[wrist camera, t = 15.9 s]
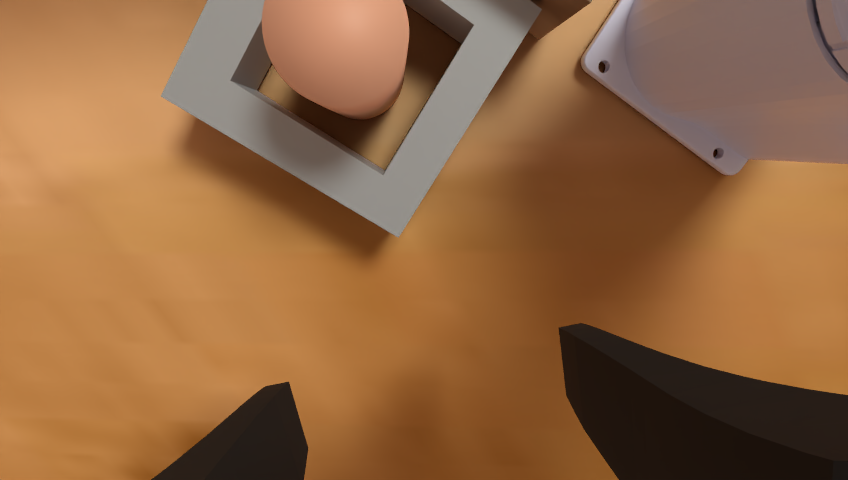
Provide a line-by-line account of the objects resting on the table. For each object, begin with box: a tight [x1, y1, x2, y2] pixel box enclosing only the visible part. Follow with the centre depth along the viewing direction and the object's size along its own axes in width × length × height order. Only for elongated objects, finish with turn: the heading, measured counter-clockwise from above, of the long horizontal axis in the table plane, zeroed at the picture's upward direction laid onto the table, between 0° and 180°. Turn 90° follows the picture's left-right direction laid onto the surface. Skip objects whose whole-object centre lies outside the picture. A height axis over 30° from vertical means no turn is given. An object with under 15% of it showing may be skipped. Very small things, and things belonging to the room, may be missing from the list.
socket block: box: [161, 0, 542, 238], centre depth 17 cm, size 10×10×3 cm
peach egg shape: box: [262, 0, 409, 119], centre depth 15 cm, size 4×4×7 cm
